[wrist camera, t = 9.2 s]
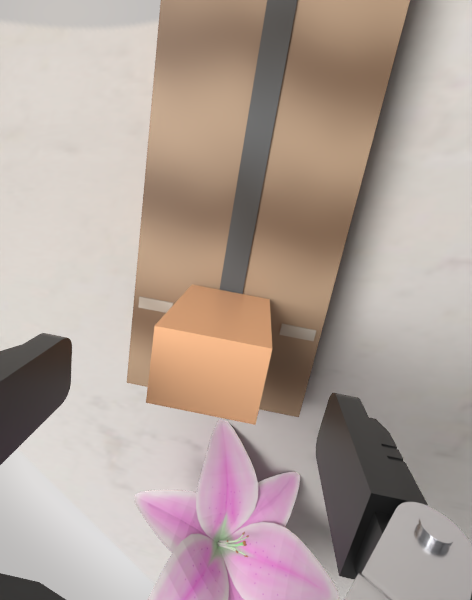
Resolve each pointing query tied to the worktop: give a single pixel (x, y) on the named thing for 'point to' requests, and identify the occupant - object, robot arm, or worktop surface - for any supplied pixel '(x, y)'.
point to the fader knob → (212, 354)
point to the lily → (232, 533)
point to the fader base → (259, 163)
